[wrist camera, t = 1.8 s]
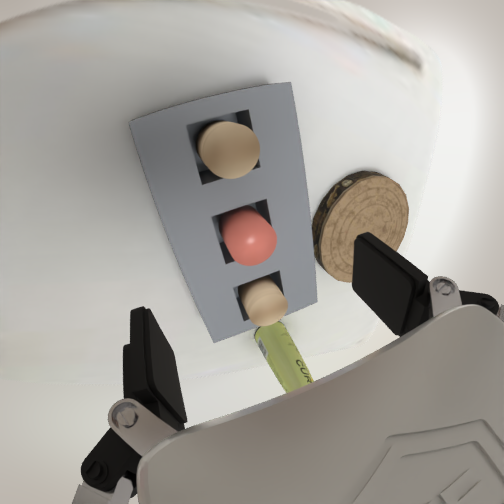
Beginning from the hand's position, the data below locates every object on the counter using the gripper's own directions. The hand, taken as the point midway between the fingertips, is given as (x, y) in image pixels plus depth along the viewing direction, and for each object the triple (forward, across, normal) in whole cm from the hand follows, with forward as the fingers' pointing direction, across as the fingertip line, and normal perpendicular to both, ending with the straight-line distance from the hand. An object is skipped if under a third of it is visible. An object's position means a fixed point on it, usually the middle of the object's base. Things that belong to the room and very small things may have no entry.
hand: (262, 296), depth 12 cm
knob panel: (+20, -3, +5) cm, 21 cm away
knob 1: (+17, -3, -3) cm, 17 cm away
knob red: (+17, -3, +5) cm, 18 cm away
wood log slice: (+21, -20, +12) cm, 31 cm away
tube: (+20, -4, +26) cm, 33 cm away
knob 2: (+17, -3, +14) cm, 22 cm away
